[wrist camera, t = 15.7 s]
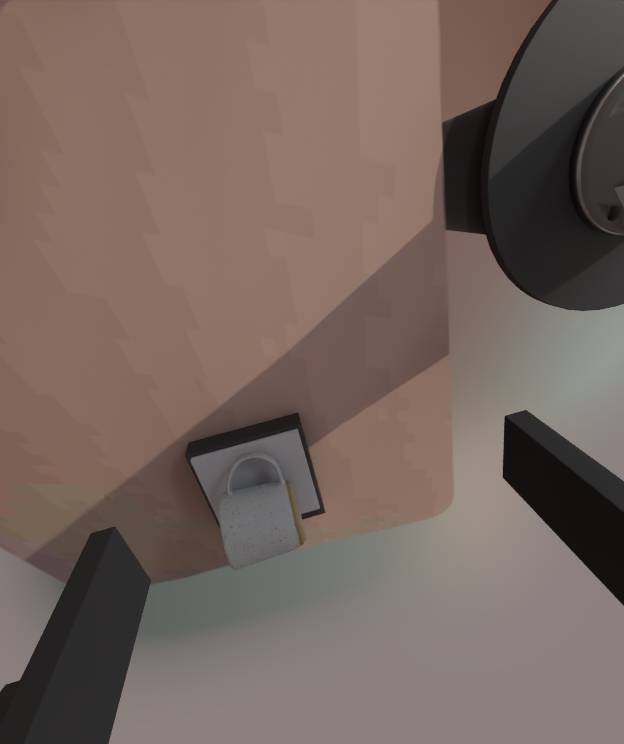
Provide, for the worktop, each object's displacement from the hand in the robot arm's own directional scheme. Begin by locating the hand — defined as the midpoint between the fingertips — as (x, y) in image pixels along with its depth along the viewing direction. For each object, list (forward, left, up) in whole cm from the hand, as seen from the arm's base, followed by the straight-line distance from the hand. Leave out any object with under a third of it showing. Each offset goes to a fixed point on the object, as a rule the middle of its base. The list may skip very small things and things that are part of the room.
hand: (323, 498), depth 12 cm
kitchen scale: (+7, +20, -27) cm, 34 cm away
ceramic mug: (+7, +19, -24) cm, 32 cm away
